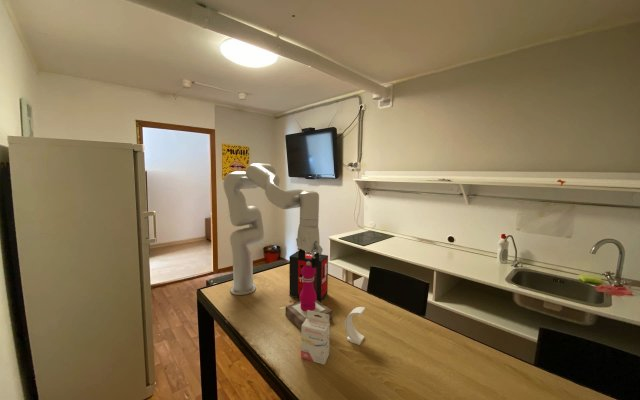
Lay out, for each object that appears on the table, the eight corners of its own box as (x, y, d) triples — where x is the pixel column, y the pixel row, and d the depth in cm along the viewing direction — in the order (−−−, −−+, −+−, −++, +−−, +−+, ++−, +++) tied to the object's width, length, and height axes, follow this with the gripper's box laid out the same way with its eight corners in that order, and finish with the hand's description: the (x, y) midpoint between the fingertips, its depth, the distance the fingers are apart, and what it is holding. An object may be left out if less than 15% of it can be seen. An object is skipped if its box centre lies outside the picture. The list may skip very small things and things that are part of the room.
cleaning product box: (327, 294, 128) (328, 255, 125) (320, 302, 120) (321, 261, 117) (297, 288, 134) (297, 251, 132) (289, 295, 126) (289, 256, 123)
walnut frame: (285, 315, 109) (285, 305, 108) (312, 305, 117) (312, 296, 117) (303, 332, 98) (303, 321, 97) (332, 319, 106) (332, 309, 106)
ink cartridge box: (300, 358, 84) (300, 316, 82) (306, 348, 89) (306, 308, 87) (325, 365, 81) (325, 322, 80) (329, 355, 86) (330, 313, 84)
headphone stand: (359, 345, 91) (360, 313, 89) (344, 339, 94) (344, 308, 93) (364, 338, 95) (365, 307, 93) (349, 332, 98) (350, 302, 96)
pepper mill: (314, 313, 103) (315, 265, 100) (297, 311, 104) (297, 263, 102) (318, 304, 110) (318, 259, 108) (302, 302, 111) (302, 257, 109)
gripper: (289, 219, 107) (289, 258, 109) (314, 227, 94) (312, 272, 96) (304, 217, 112) (304, 255, 114) (330, 225, 98) (328, 268, 100)
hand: (308, 263), depth 105 cm, fingers open, 9 cm apart
